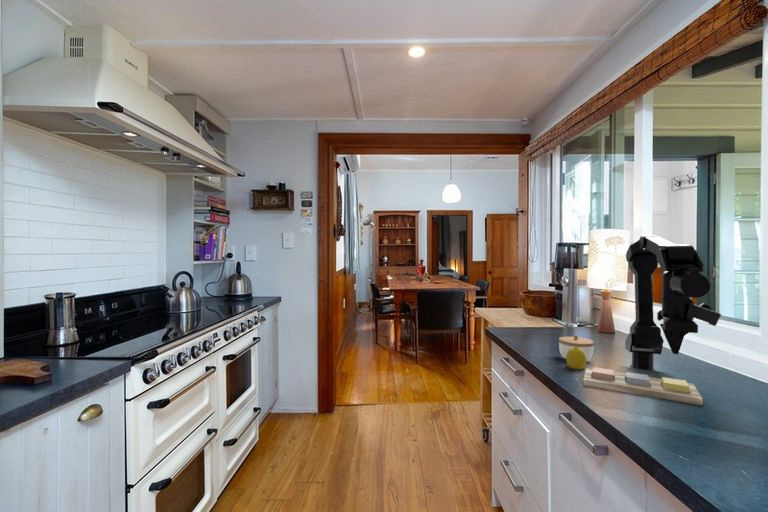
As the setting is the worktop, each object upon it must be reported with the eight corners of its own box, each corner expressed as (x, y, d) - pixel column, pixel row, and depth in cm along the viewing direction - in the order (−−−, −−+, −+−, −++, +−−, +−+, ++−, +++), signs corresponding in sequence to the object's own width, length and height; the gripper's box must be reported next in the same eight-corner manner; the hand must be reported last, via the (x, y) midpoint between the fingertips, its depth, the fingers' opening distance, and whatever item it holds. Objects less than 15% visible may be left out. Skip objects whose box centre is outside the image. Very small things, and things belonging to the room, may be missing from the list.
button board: (585, 377, 110) (586, 367, 110) (693, 395, 97) (693, 383, 97) (583, 390, 100) (583, 379, 100) (702, 411, 87) (702, 398, 87)
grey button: (626, 382, 102) (626, 371, 102) (648, 386, 100) (648, 375, 100) (626, 388, 98) (626, 376, 98) (649, 391, 95) (649, 380, 95)
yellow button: (661, 388, 98) (661, 377, 98) (685, 392, 95) (685, 380, 95) (664, 394, 94) (664, 382, 94) (689, 398, 91) (689, 386, 91)
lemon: (588, 375, 113) (588, 349, 113) (569, 374, 114) (569, 348, 114) (582, 370, 118) (582, 345, 118) (564, 368, 119) (564, 344, 119)
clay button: (593, 377, 106) (593, 367, 106) (613, 380, 104) (613, 370, 104) (592, 382, 102) (592, 371, 102) (613, 385, 100) (613, 374, 100)
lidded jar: (570, 356, 134) (570, 330, 134) (600, 364, 125) (600, 336, 125) (551, 360, 129) (552, 333, 129) (581, 368, 119) (581, 340, 119)
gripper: (727, 299, 82) (726, 368, 82) (709, 292, 98) (708, 350, 98) (665, 296, 88) (664, 360, 88) (657, 289, 104) (656, 344, 104)
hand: (675, 353), depth 95 cm, fingers closed
